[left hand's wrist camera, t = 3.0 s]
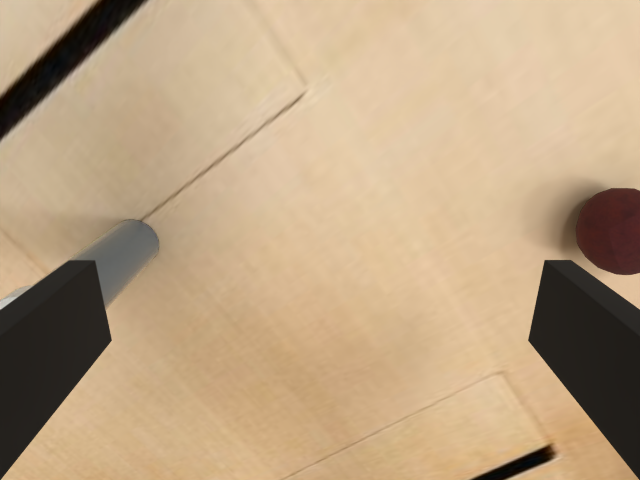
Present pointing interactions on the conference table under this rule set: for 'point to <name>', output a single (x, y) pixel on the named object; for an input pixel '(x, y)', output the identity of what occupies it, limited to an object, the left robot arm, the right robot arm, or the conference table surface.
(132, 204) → the conference table surface
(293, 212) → the conference table surface
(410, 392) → the conference table surface
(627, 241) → the dark brown ball
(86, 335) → the left robot arm
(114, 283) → the blue-grey bottle
